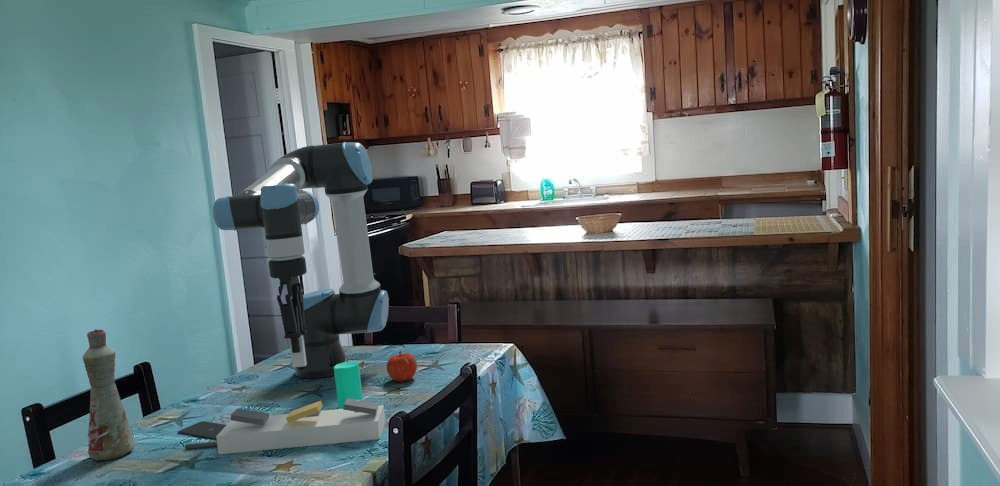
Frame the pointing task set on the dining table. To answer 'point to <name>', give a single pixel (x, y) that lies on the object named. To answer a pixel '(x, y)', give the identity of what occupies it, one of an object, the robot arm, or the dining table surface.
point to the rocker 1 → (249, 416)
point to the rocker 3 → (361, 406)
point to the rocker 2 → (304, 411)
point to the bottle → (105, 403)
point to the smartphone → (203, 430)
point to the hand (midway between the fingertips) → (299, 365)
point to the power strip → (298, 431)
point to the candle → (347, 382)
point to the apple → (401, 367)
